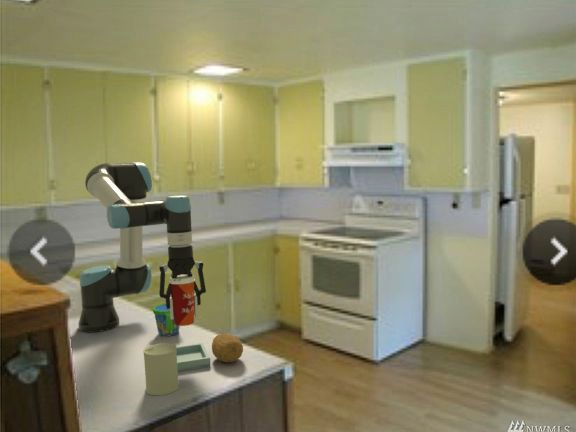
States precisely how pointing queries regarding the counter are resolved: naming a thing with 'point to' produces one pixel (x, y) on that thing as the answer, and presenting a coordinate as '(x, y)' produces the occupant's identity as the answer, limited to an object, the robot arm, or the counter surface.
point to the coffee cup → (183, 299)
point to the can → (161, 369)
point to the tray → (192, 357)
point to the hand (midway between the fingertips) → (184, 316)
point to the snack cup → (165, 321)
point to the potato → (227, 347)
